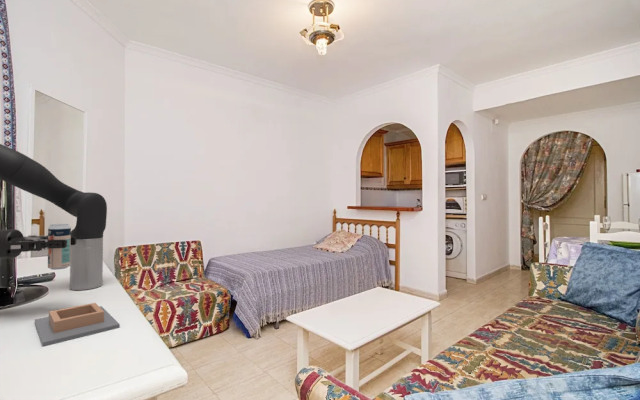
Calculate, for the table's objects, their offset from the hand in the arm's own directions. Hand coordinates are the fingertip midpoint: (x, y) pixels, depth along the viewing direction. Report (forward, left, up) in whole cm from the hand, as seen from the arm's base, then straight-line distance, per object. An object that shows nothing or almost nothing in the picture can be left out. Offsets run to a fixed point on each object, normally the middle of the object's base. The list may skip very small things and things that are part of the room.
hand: (70, 242), depth 87 cm
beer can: (0, -3, -7) cm, 8 cm away
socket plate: (+12, +6, -19) cm, 23 cm away
